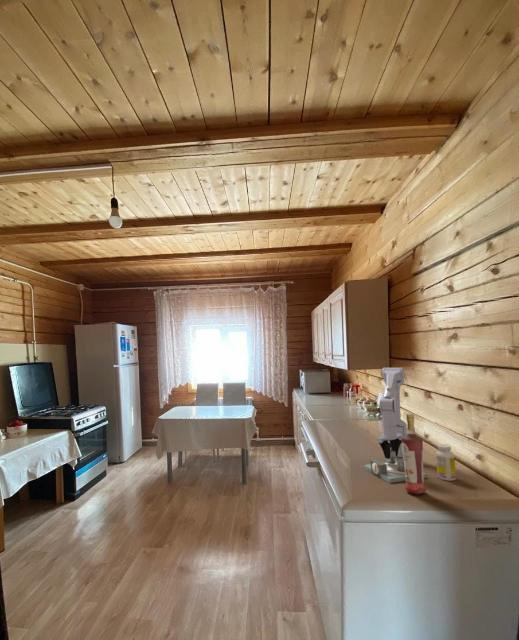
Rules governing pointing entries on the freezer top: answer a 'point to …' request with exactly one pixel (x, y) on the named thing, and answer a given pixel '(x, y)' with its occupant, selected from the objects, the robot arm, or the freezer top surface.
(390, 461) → the cylinder
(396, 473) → the scale
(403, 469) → the cylinder
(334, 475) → the freezer top surface
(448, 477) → the supplement bottle
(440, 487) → the freezer top surface
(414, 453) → the liquor
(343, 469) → the freezer top surface
